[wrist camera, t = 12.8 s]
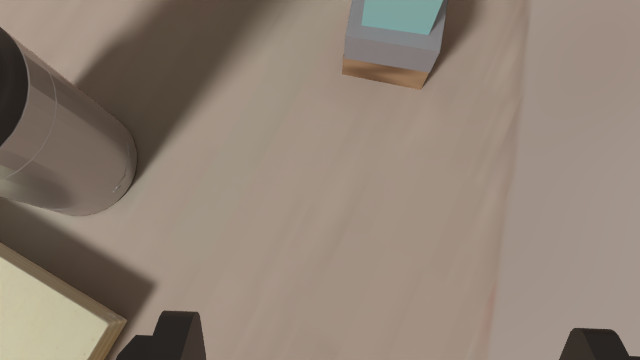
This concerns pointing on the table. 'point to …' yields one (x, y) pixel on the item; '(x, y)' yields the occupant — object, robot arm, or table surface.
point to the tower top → (393, 42)
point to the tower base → (384, 73)
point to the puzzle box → (50, 316)
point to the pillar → (401, 14)
